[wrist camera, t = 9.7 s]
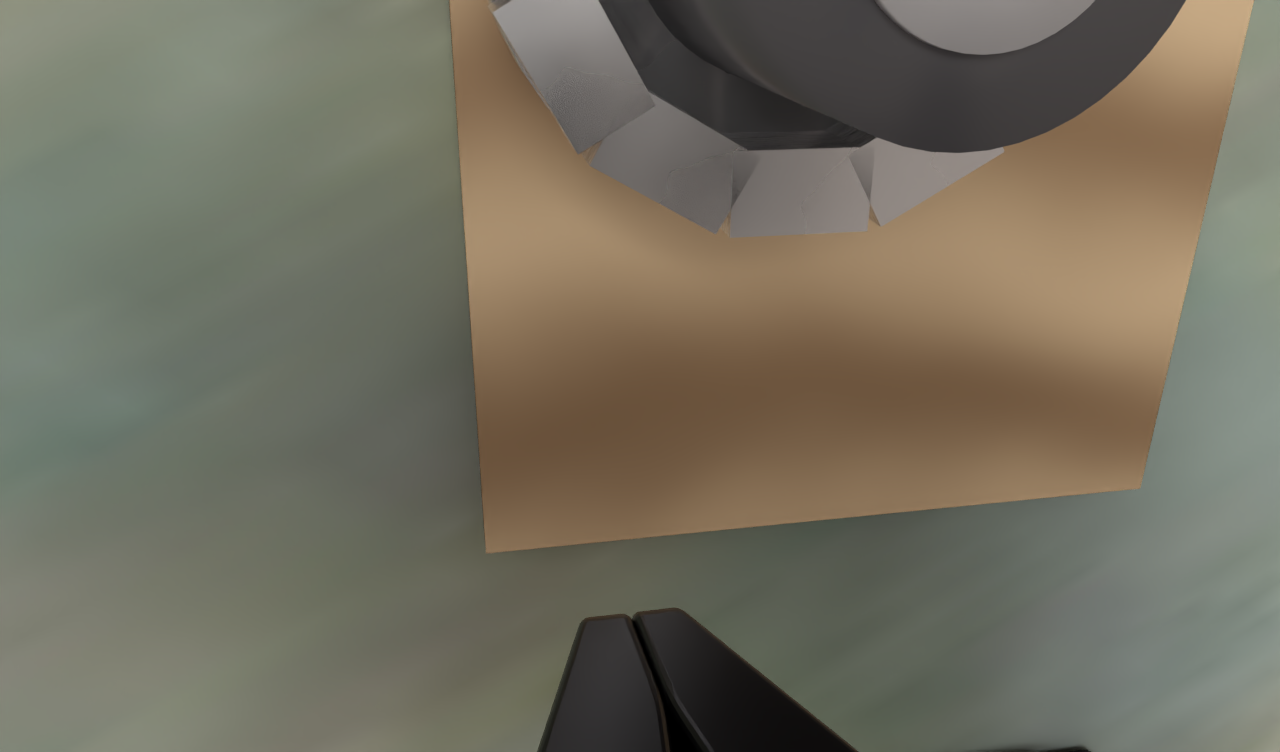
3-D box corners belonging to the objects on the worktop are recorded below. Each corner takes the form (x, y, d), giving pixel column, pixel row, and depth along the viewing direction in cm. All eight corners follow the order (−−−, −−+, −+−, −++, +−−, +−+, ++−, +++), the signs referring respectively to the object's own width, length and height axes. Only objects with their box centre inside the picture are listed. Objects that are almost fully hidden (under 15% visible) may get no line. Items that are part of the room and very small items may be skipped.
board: (1113, 467, 24) (1139, 488, 23) (484, 527, 21) (486, 553, 21) (1319, -471, 17) (1369, -494, 16) (412, -552, 14) (410, -585, 13)
